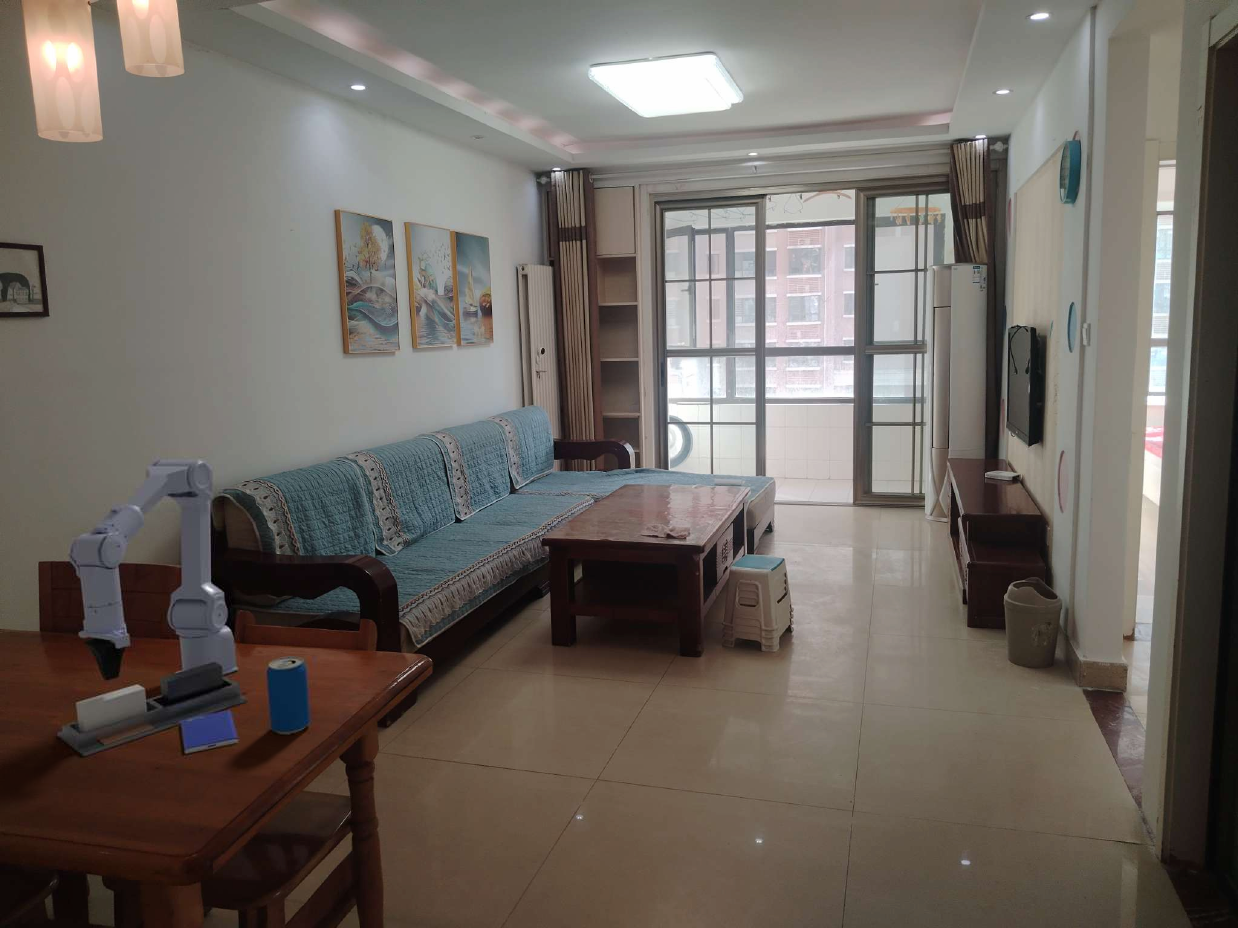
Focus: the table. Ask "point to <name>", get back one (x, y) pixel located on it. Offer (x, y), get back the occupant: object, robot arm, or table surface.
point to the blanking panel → (111, 708)
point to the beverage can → (288, 695)
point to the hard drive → (208, 731)
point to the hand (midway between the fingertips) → (111, 678)
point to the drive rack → (163, 709)
